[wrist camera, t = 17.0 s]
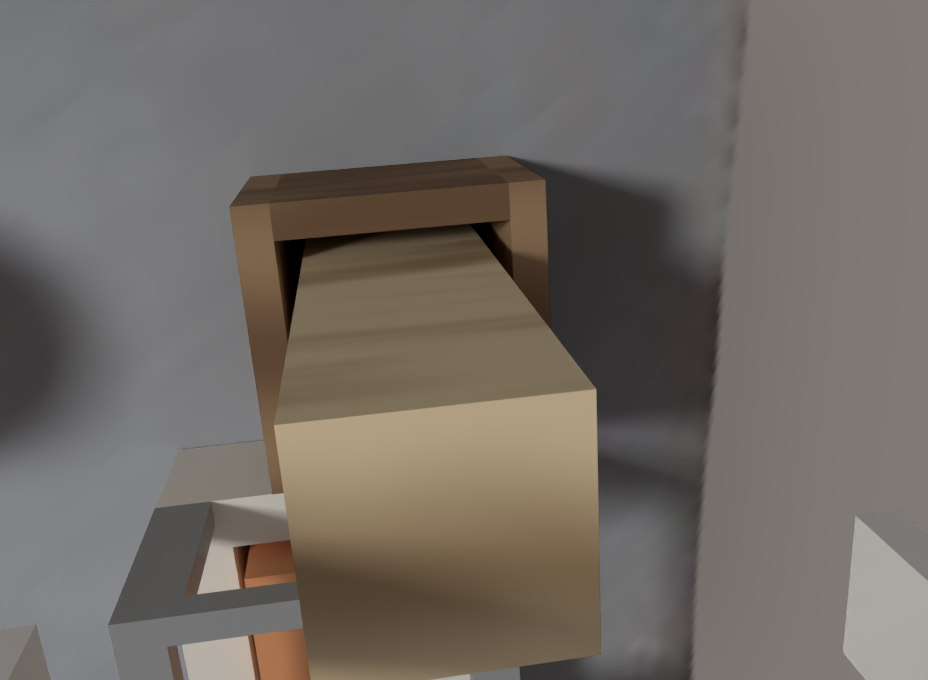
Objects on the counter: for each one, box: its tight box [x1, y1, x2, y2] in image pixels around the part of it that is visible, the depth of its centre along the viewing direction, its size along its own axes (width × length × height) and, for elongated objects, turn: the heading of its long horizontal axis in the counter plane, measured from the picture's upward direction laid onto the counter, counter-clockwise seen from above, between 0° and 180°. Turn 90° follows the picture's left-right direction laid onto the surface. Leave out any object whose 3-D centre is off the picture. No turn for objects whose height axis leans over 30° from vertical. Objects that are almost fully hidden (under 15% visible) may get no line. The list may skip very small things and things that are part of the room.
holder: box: [229, 156, 551, 494], centre depth 33 cm, size 10×10×7 cm
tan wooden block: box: [274, 224, 601, 680], centre depth 27 cm, size 6×6×20 cm
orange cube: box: [244, 540, 311, 680], centre depth 36 cm, size 6×6×6 cm
